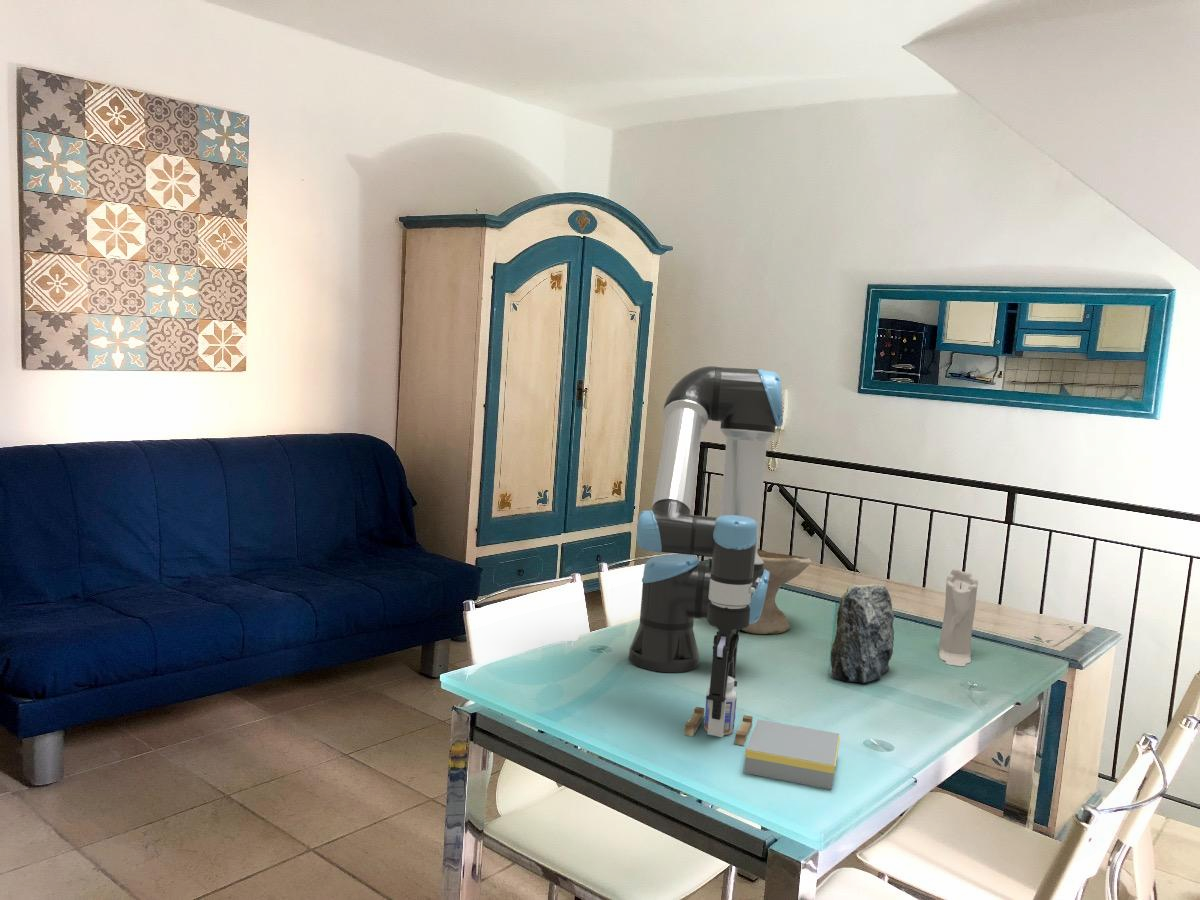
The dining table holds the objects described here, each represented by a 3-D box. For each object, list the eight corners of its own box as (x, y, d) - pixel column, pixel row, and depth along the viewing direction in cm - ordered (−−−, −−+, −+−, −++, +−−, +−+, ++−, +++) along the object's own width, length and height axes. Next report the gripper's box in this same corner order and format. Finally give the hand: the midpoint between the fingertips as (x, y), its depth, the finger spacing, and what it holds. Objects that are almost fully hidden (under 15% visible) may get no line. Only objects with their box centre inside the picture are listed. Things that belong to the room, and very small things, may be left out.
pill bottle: (714, 721, 180) (718, 670, 179) (739, 730, 177) (743, 678, 176) (697, 729, 176) (702, 677, 175) (723, 738, 173) (727, 685, 172)
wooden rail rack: (684, 734, 173) (684, 725, 173) (695, 715, 183) (696, 706, 183) (743, 745, 170) (744, 735, 170) (751, 725, 180) (752, 716, 180)
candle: (939, 663, 226) (948, 578, 223) (938, 647, 239) (947, 566, 237) (972, 668, 223) (981, 583, 221) (970, 652, 236) (979, 571, 234)
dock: (743, 772, 159) (745, 749, 159) (755, 740, 173) (757, 719, 172) (832, 790, 155) (835, 765, 155) (837, 755, 169) (840, 733, 168)
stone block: (859, 688, 204) (869, 595, 202) (823, 676, 211) (831, 586, 208) (903, 672, 217) (913, 585, 215) (868, 661, 223) (876, 576, 221)
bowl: (819, 624, 251) (826, 548, 249) (782, 646, 230) (790, 563, 228) (727, 605, 265) (734, 532, 263) (685, 624, 243) (691, 545, 241)
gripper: (742, 619, 164) (730, 751, 166) (758, 593, 182) (747, 713, 185) (698, 613, 166) (687, 743, 168) (718, 588, 184) (708, 706, 187)
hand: (718, 727), depth 177 cm, fingers open, 6 cm apart
